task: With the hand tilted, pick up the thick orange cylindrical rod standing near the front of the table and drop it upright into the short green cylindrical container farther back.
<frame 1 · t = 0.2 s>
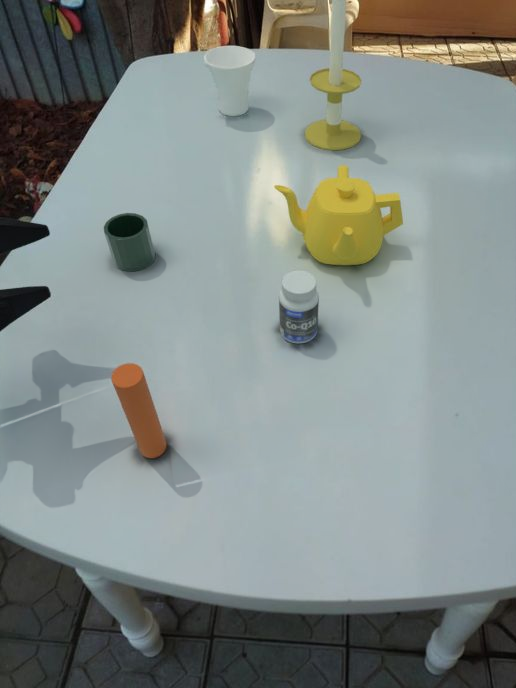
hand: (49, 259, 57), 16 cm above the table, tool horizontal, fingers open, 9 cm apart
pill bottle: (298, 331, 74), on the table
cup: (233, 111, 109), on the table
green cylindrical container: (134, 257, 81), on the table
candle: (332, 136, 104), on the table
orange cylindrical rod: (153, 446, 62), on the table
teapot: (337, 247, 84), on the table
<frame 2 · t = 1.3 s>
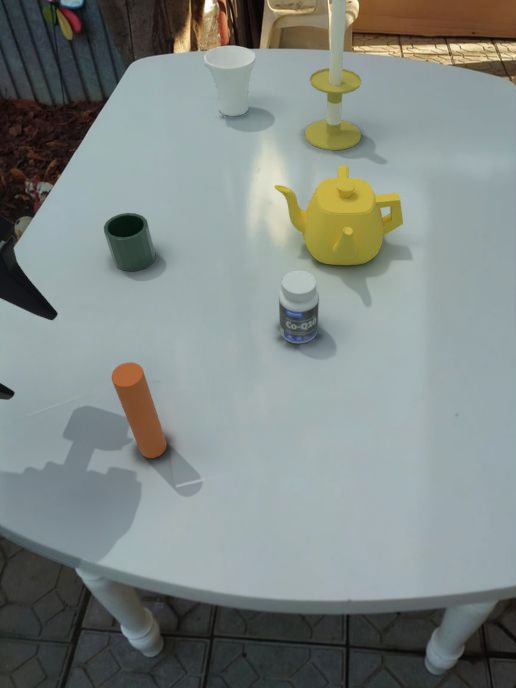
hand: (35, 354, 52), 14 cm above the table, tool tilted 45°, fingers open, 9 cm apart
nothing on the table moved.
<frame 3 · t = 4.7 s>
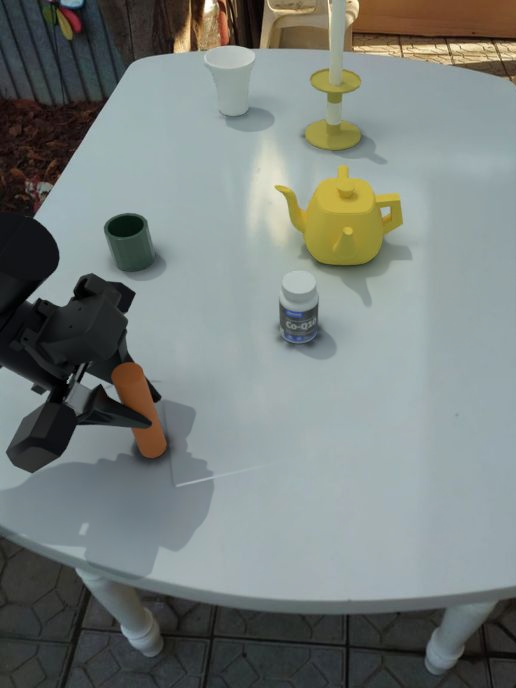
hand: (154, 413, 57), 7 cm above the table, tool tilted 45°, fingers closed on orange cylindrical rod, 3 cm apart
orange cylindrical rod: (153, 446, 62), on the table, touching gripper
everything else where it was.
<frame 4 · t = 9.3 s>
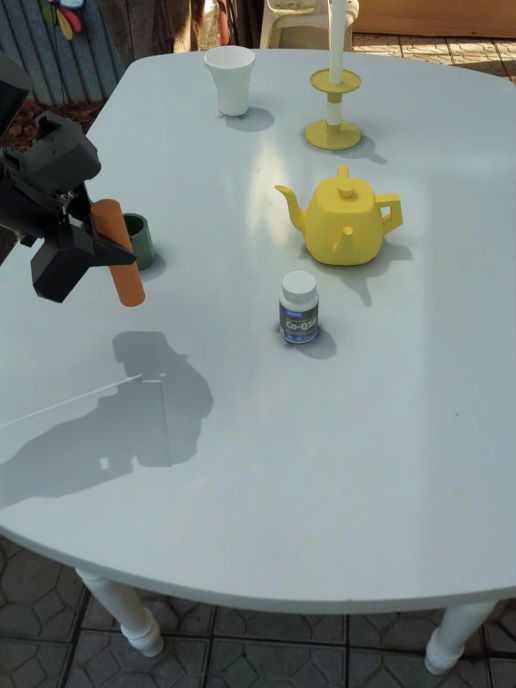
hand: (132, 251, 62), 14 cm above the table, tool tilted 45°, fingers closed on orange cylindrical rod, 3 cm apart
orange cylindrical rod: (132, 298, 67), point 7 cm above the table, touching gripper
everything else where it was.
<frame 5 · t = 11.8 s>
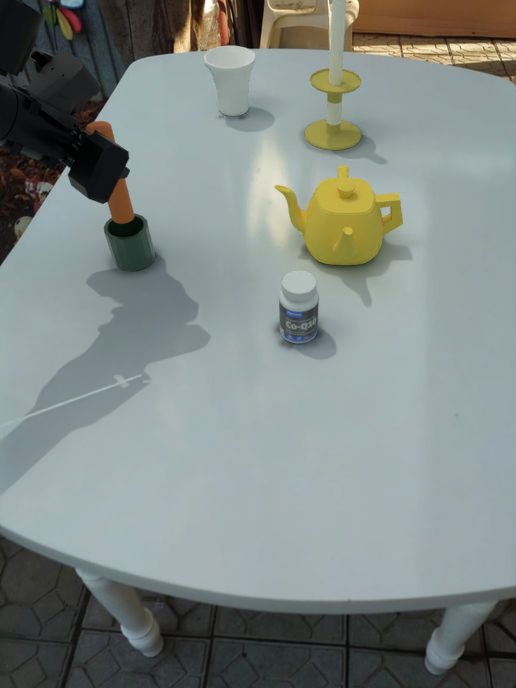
hand: (120, 168, 72), 14 cm above the table, tool tilted 45°, fingers closed on orange cylindrical rod, 3 cm apart
orange cylindrical rod: (123, 217, 76), point 7 cm above the table, touching gripper
everything else where it was.
when the fingers open (9 cm above the table, at t = 13.8 s): orange cylindrical rod drops 2 cm, resting on green cylindrical container.
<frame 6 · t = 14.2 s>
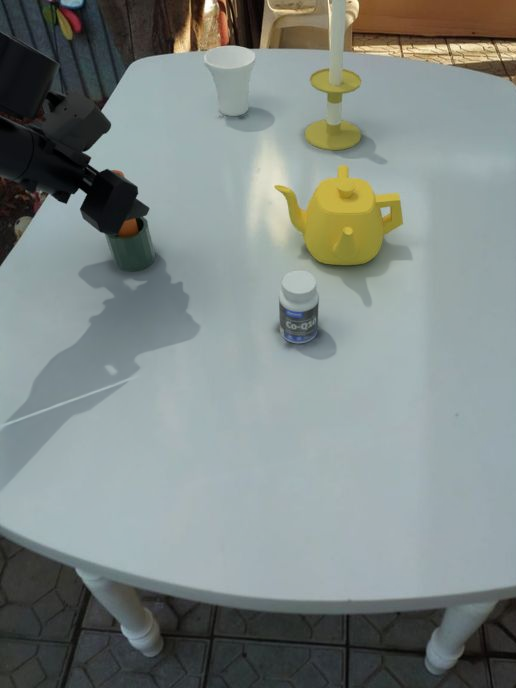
hand: (128, 197, 75), 9 cm above the table, tool tilted 45°, fingers open, 8 cm apart
orange cylindrical rod: (134, 255, 81), resting on green cylindrical container
everything else where it was.
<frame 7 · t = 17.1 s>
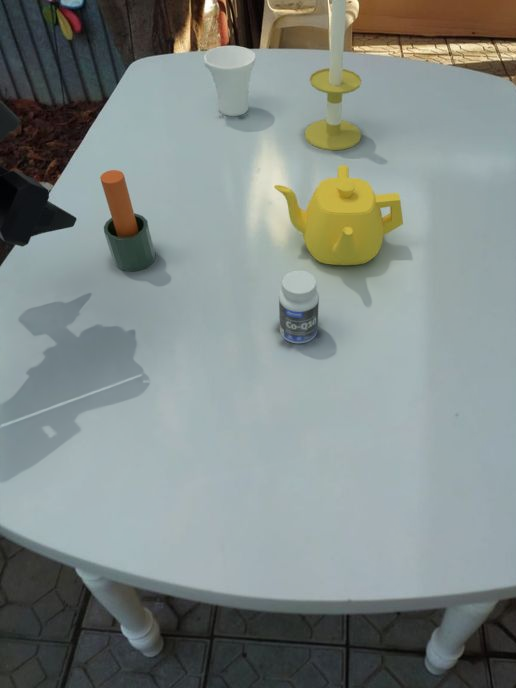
hand: (52, 205, 67), 13 cm above the table, tool tilted 45°, fingers open, 9 cm apart
nothing on the table moved.
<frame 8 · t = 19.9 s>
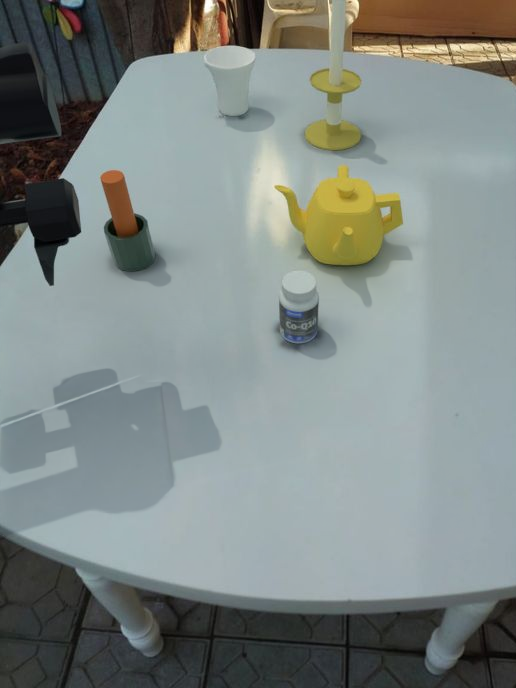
hand: (3, 291, 58), 13 cm above the table, tool pointing down, fingers open, 9 cm apart
nothing on the table moved.
at the end: orange cylindrical rod 0.0 cm off-centre in the green cylindrical container, point 0.5 cm above the green cylindrical container's base; orange cylindrical rod tilted 0°; the gripper is holding nothing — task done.
